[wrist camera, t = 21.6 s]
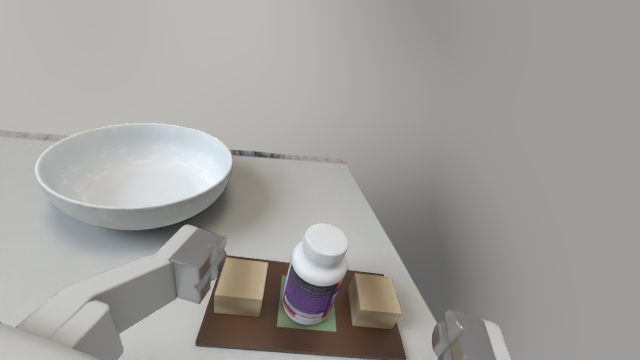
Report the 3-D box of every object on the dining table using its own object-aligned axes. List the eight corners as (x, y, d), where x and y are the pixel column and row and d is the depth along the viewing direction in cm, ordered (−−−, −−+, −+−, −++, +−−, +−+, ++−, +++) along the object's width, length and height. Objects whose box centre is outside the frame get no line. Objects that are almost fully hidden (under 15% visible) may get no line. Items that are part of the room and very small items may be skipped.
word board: (382, 277, 36) (392, 258, 34) (404, 361, 28) (418, 343, 26) (224, 258, 33) (225, 236, 31) (195, 345, 25) (194, 323, 23)
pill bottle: (333, 328, 28) (362, 264, 23) (280, 326, 27) (298, 259, 22) (327, 282, 33) (350, 220, 27) (282, 279, 32) (296, 214, 26)
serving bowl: (235, 165, 50) (237, 130, 46) (223, 256, 33) (225, 213, 30) (100, 153, 45) (91, 112, 41) (3, 255, 28) (-27, 201, 24)
